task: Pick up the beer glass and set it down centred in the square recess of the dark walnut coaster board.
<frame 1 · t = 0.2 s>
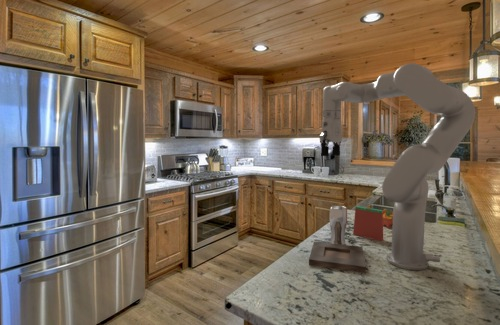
hand: (330, 155, 119), 36 cm above the countertop, fingers open, 9 cm apart
toy building block set: (381, 229, 134), on the countertop
beer glass: (337, 243, 114), on the countertop
coaster board: (337, 258, 99), on the countertop
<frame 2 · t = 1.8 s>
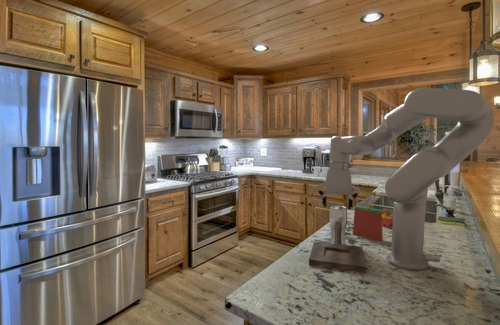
hand: (337, 207, 114), 15 cm above the countertop, fingers open, 9 cm apart
nothing on the countertop moved.
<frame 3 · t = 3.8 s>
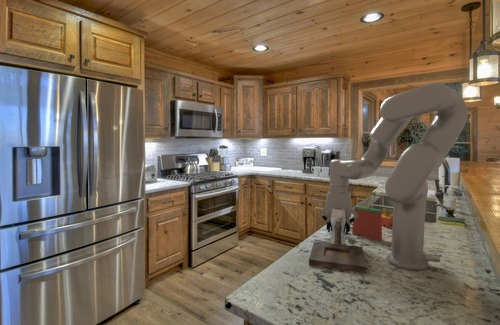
hand: (337, 232, 114), 5 cm above the countertop, fingers closed on beer glass, 6 cm apart
beer glass: (337, 243, 114), on the countertop, touching gripper
everything else where it was.
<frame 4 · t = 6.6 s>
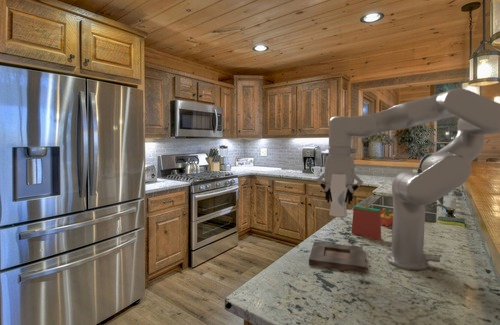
hand: (338, 202, 98), 20 cm above the countertop, fingers closed on beer glass, 6 cm apart
beer glass: (338, 215, 98), point 16 cm above the countertop, touching gripper
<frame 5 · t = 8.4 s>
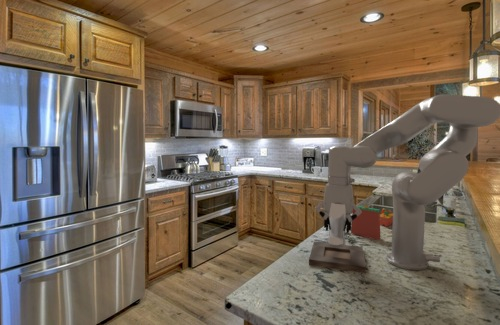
hand: (337, 230, 99), 10 cm above the countertop, fingers closed on beer glass, 6 cm apart
beer glass: (336, 243, 99), point 5 cm above the countertop, touching gripper
when the fingers open (7 cm above the countertop, at t = 9.9 s): beer glass drops 2 cm, resting on coaster board.
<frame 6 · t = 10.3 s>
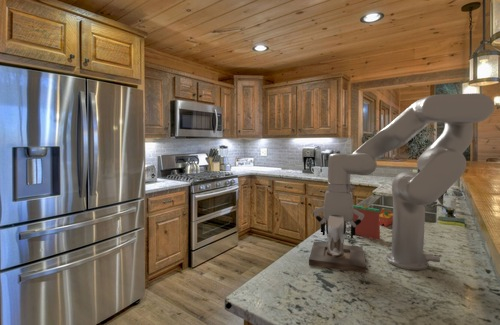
hand: (337, 235, 99), 8 cm above the countertop, fingers open, 9 cm apart
beer glass: (335, 255, 99), point 1 cm above the countertop, touching coaster board
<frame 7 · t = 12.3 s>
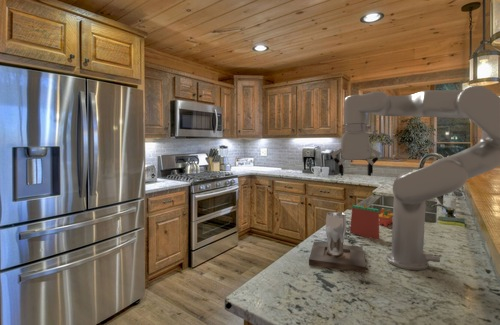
hand: (355, 175, 103), 29 cm above the countertop, fingers open, 9 cm apart
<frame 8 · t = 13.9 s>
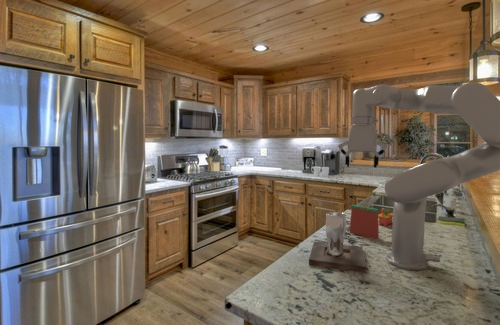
hand: (361, 166, 106), 32 cm above the countertop, fingers open, 9 cm apart
at the end: beer glass 0.7 cm off-centre on the coaster board, point 0.8 cm above the coaster board's base; beer glass tilted 0°; the gripper is holding nothing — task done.
